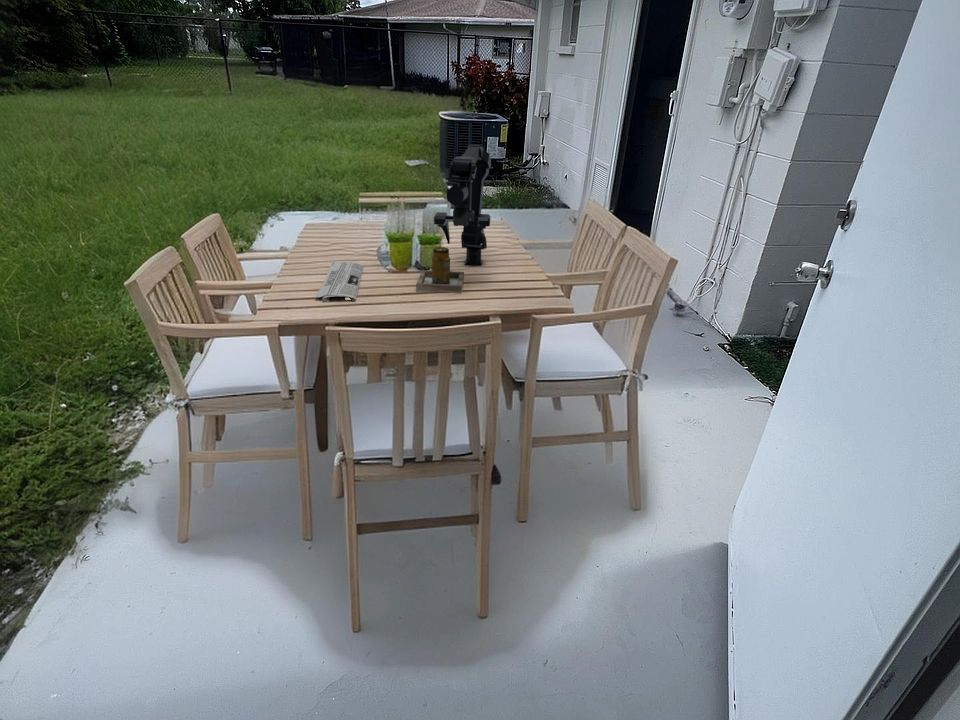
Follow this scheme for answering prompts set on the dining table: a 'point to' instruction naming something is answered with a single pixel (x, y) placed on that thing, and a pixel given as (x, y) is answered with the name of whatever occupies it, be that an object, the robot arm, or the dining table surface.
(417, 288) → the holder tray
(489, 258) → the dining table surface
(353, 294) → the newspaper
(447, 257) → the condiment
